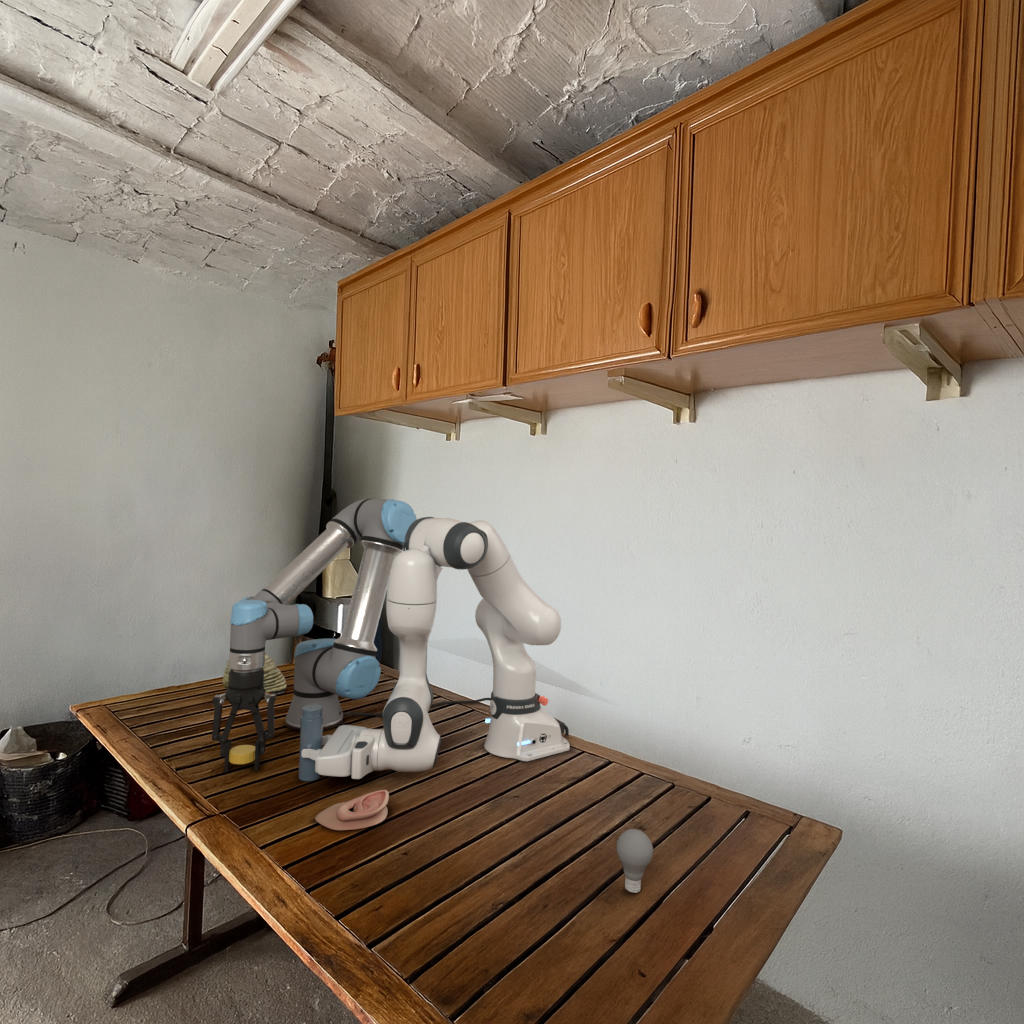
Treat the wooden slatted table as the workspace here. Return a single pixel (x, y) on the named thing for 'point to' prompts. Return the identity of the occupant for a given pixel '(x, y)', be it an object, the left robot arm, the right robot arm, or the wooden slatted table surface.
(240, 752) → the lid
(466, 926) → the wooden slatted table surface
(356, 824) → the anatomical model
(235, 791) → the wooden slatted table surface
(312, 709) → the blue-grey cylinder
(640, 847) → the light bulb
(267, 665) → the fossil
